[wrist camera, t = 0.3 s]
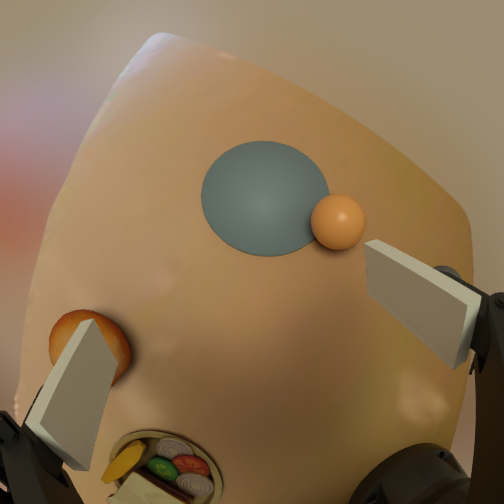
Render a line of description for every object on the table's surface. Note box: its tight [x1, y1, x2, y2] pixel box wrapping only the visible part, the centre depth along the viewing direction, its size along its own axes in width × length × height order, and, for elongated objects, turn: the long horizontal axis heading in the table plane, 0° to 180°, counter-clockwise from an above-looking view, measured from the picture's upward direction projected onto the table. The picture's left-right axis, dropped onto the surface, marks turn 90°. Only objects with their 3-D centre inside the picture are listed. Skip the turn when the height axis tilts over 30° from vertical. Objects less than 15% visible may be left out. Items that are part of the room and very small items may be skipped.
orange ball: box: [311, 194, 366, 250], centre depth 27 cm, size 6×6×6 cm
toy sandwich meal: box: [101, 431, 222, 504], centre depth 20 cm, size 12×14×5 cm
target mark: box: [201, 141, 329, 256], centre depth 30 cm, size 14×14×1 cm
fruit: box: [49, 310, 131, 387], centre depth 23 cm, size 8×8×8 cm
